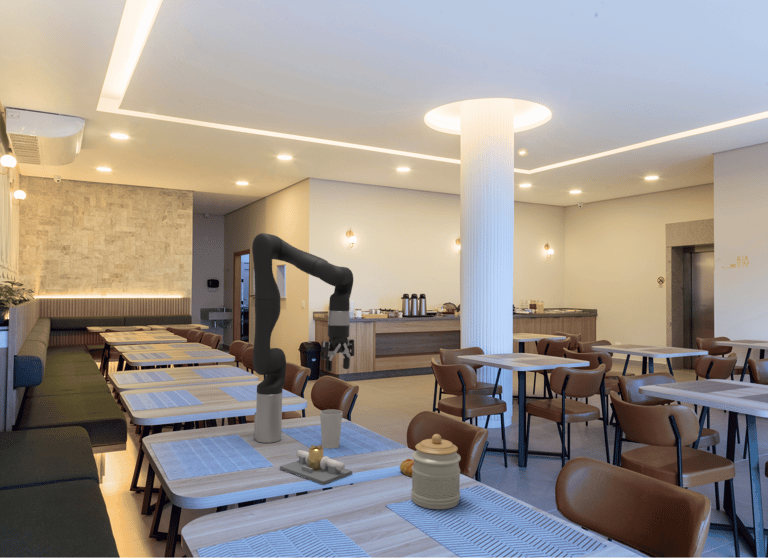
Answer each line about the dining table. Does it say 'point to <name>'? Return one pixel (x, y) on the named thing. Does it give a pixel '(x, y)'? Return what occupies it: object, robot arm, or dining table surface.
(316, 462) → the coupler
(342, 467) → the shaft rig
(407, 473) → the pastry
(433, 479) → the jar
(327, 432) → the cup
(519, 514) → the dining table surface
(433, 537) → the dining table surface
